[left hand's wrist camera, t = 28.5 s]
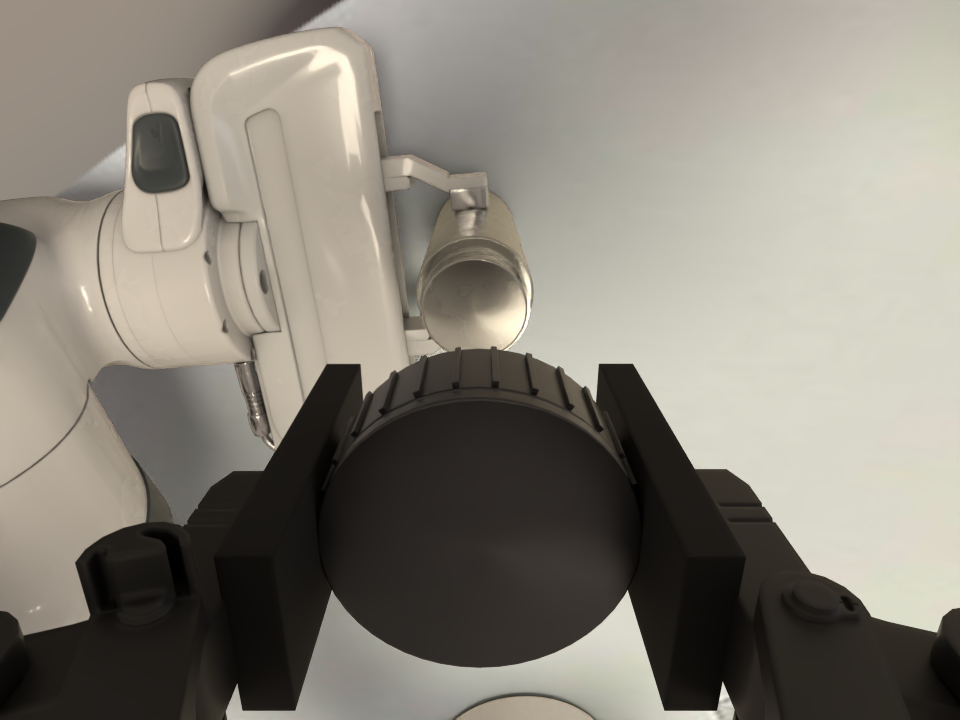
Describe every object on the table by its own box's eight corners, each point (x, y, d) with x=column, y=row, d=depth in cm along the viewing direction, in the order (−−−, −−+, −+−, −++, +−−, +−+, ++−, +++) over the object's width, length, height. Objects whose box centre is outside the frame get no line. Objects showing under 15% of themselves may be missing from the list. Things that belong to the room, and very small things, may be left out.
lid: (642, 557, 13) (671, 638, 11) (388, 610, 14) (372, 696, 12) (591, 311, 11) (615, 355, 9) (297, 384, 12) (259, 441, 10)
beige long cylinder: (463, 279, 38) (455, 389, 23) (422, 215, 37) (386, 290, 22) (527, 240, 37) (561, 329, 23) (488, 173, 36) (496, 221, 21)
